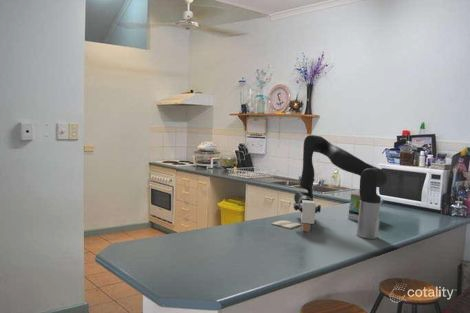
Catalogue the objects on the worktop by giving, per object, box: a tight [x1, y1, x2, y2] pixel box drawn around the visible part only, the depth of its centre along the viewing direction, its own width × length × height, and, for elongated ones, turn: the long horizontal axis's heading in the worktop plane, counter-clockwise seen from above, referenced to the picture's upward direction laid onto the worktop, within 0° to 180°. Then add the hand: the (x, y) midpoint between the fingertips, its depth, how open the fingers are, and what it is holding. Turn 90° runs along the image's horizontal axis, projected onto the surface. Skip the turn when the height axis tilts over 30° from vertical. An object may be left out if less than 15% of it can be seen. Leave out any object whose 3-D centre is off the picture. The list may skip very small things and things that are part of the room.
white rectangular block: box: [300, 200, 316, 225], centre depth 197 cm, size 6×6×10 cm
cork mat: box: [271, 219, 302, 230], centre depth 206 cm, size 11×11×1 cm
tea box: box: [347, 191, 361, 222], centre depth 232 cm, size 15×10×15 cm, turn 143°
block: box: [301, 223, 311, 233], centre depth 198 cm, size 4×4×4 cm
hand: (308, 210), depth 195 cm, fingers closed on white rectangular block, 6 cm apart
